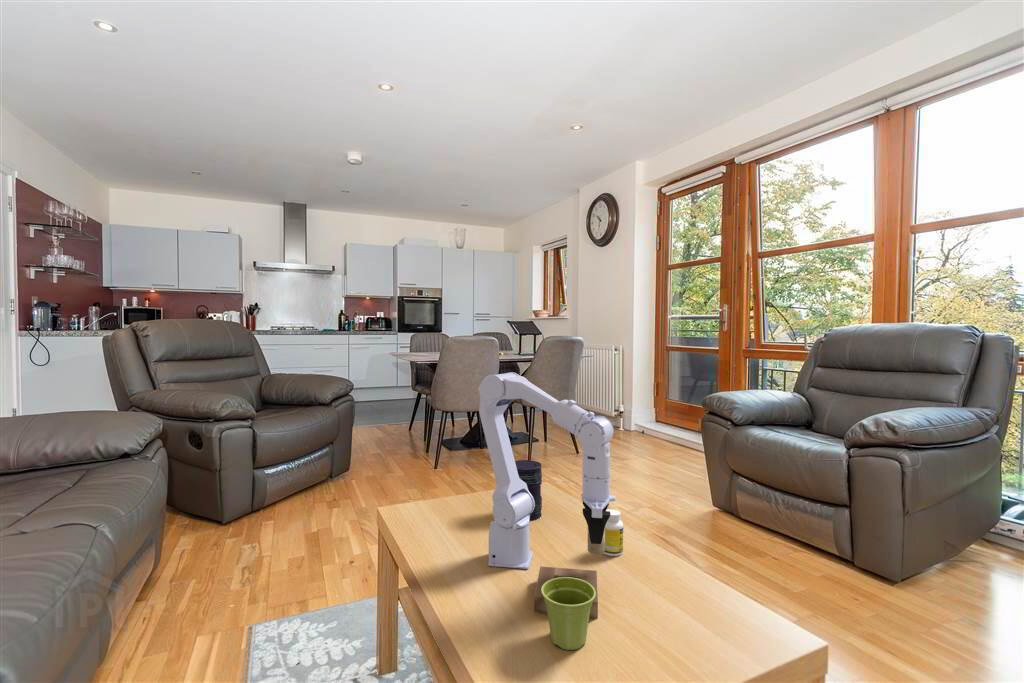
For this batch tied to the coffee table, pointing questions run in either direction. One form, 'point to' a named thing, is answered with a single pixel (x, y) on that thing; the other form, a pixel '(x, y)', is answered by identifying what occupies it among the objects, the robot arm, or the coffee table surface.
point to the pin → (596, 546)
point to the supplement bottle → (614, 534)
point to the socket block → (553, 572)
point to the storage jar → (532, 483)
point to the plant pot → (568, 610)
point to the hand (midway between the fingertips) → (595, 538)
